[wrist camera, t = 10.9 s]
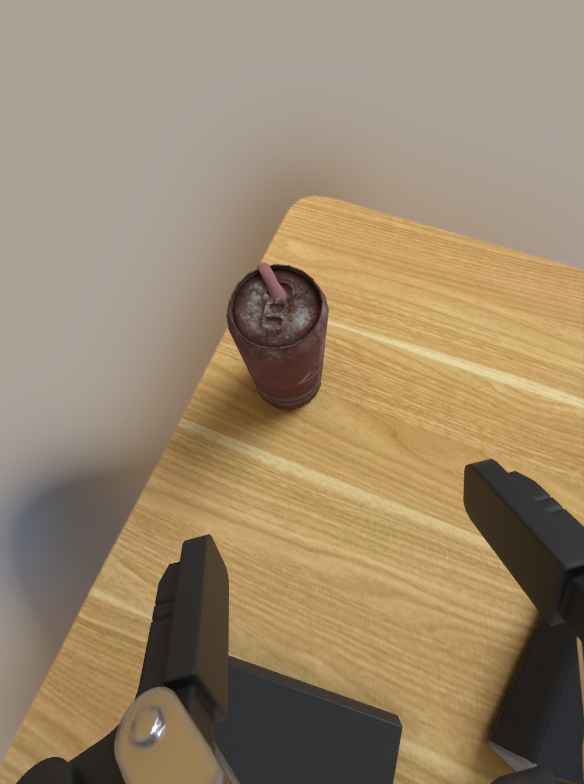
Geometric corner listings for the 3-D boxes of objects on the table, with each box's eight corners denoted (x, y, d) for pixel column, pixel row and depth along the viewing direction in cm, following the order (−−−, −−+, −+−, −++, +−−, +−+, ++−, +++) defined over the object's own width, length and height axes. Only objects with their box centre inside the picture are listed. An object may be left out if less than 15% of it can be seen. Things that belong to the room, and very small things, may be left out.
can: (300, 336, 35) (295, 238, 22) (332, 391, 34) (349, 322, 20) (244, 364, 35) (204, 282, 21) (274, 422, 33) (251, 372, 20)
